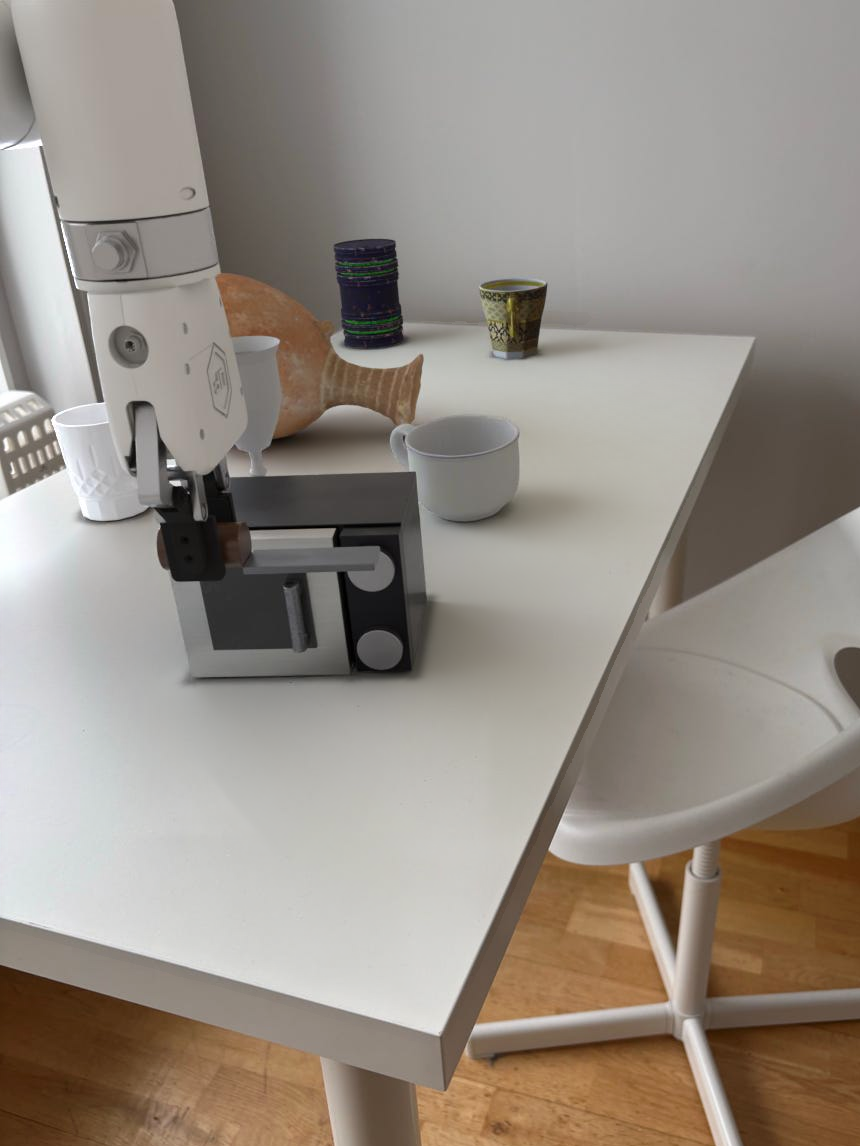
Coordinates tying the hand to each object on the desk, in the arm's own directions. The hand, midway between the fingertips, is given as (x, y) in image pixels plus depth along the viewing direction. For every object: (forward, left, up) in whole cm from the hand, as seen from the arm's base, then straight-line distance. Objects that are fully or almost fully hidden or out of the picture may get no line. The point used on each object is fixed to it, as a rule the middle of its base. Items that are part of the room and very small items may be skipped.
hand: (208, 563), depth 62 cm
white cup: (-23, +40, -12) cm, 47 cm away
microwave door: (+1, +6, -12) cm, 13 cm away
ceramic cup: (+17, +96, -12) cm, 99 cm away
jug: (-8, +61, -12) cm, 62 cm away
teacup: (+12, +37, -12) cm, 41 cm away
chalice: (-5, +30, -12) cm, 33 cm away
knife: (+4, 0, 0) cm, 4 cm away
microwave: (+3, +11, -12) cm, 17 cm away
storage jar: (-6, +110, -12) cm, 110 cm away
